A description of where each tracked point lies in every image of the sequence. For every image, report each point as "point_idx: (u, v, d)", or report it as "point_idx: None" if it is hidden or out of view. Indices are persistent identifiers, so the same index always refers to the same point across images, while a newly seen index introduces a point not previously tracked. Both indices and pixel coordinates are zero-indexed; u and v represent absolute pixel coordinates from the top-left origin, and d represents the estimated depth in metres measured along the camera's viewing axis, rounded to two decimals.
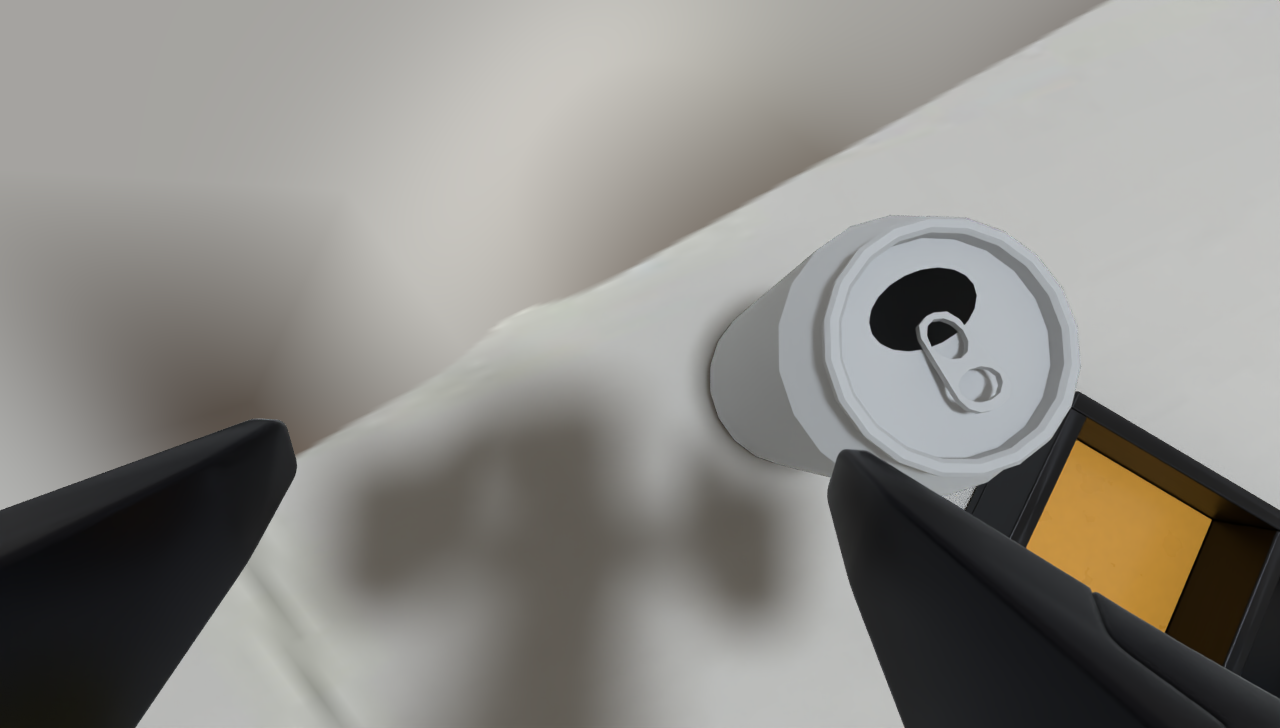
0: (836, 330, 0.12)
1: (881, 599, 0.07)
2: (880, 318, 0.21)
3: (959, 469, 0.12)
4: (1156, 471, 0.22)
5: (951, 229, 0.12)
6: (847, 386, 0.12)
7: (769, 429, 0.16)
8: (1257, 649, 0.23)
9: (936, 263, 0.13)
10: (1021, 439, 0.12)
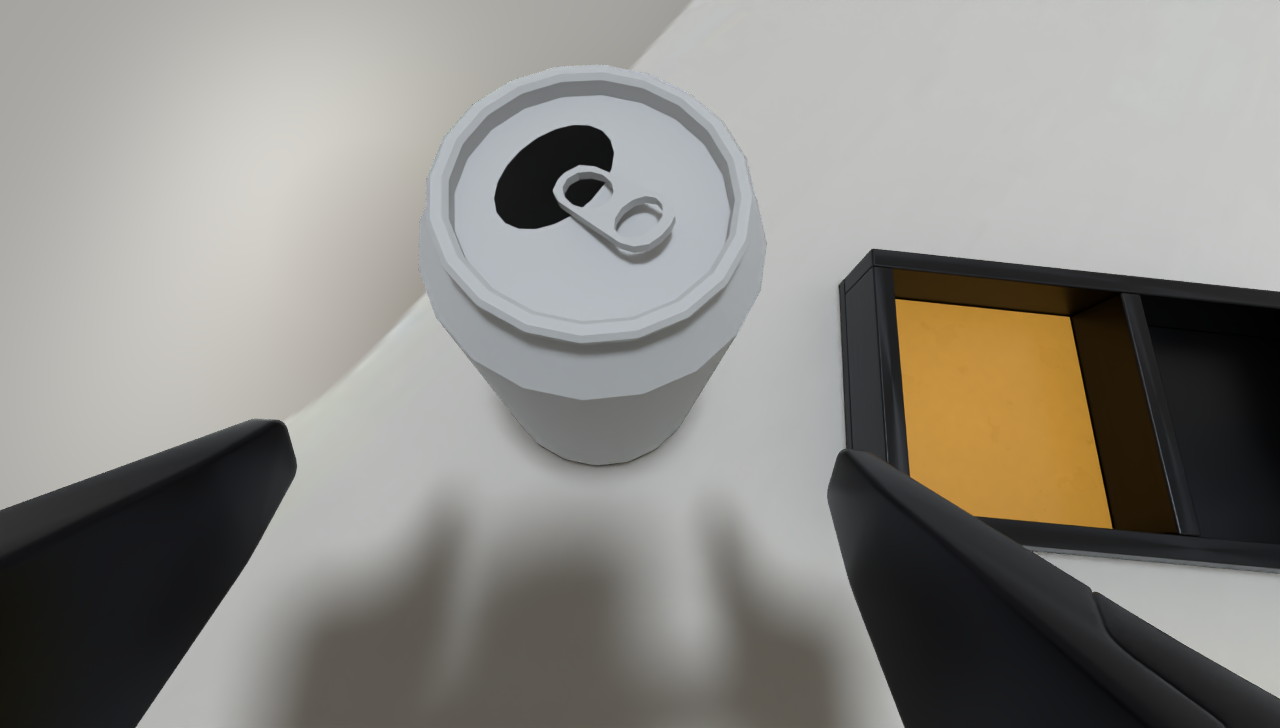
0: (443, 228, 0.09)
1: (881, 599, 0.07)
2: None
3: (656, 319, 0.09)
4: (989, 292, 0.21)
5: (541, 81, 0.10)
6: (477, 283, 0.09)
7: (520, 409, 0.13)
8: (1186, 419, 0.21)
9: (552, 126, 0.11)
10: (719, 258, 0.10)
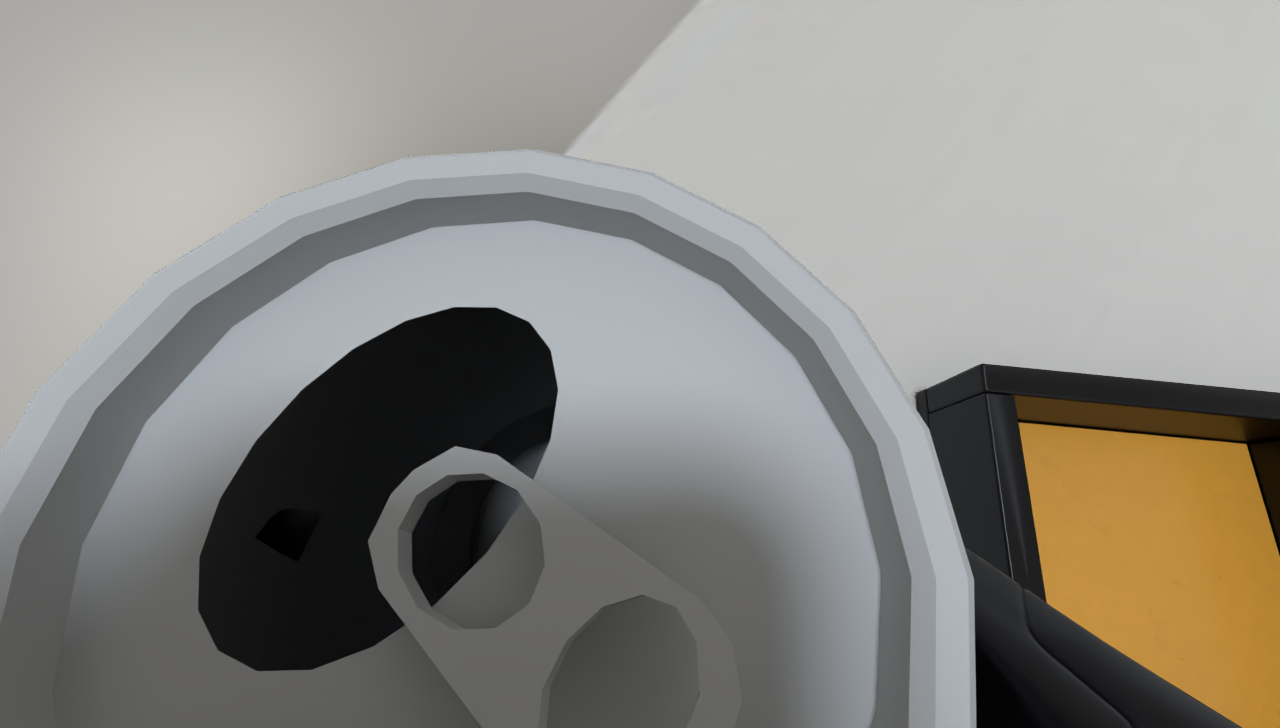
0: None
1: None
2: None
3: None
4: (1145, 420, 0.14)
5: (358, 203, 0.04)
6: None
7: None
8: None
9: (395, 313, 0.04)
10: None
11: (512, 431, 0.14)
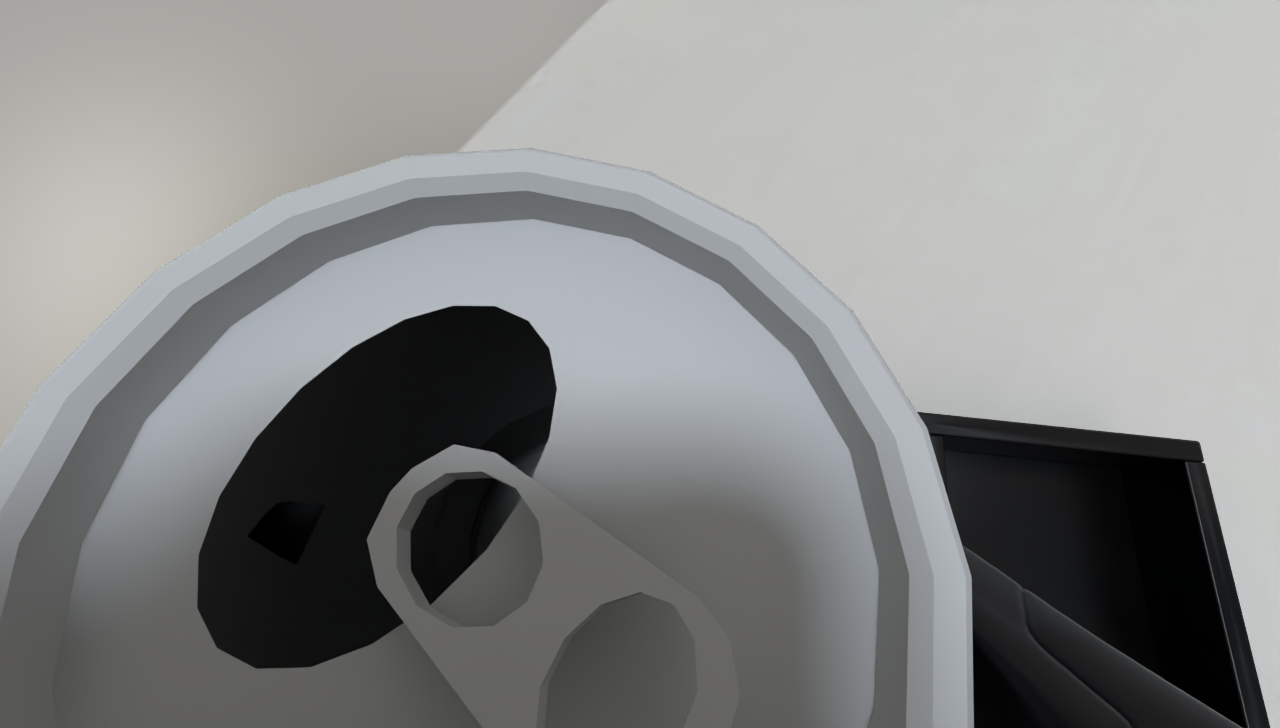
0: None
1: None
2: None
3: None
4: None
5: (357, 201, 0.04)
6: None
7: None
8: (1001, 561, 0.20)
9: (396, 310, 0.04)
10: None
11: (511, 431, 0.14)
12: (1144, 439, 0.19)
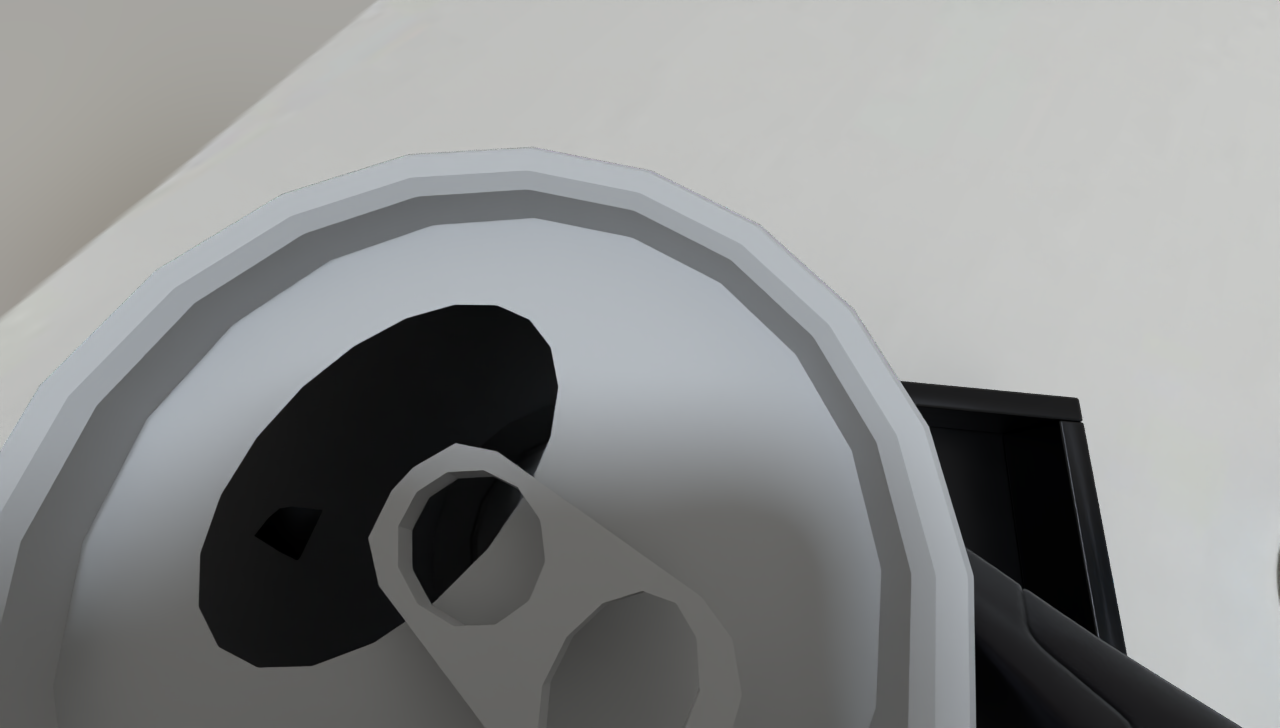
0: None
1: None
2: None
3: None
4: None
5: (358, 200, 0.04)
6: None
7: None
8: None
9: (395, 310, 0.04)
10: None
11: (512, 431, 0.14)
12: (1013, 396, 0.16)
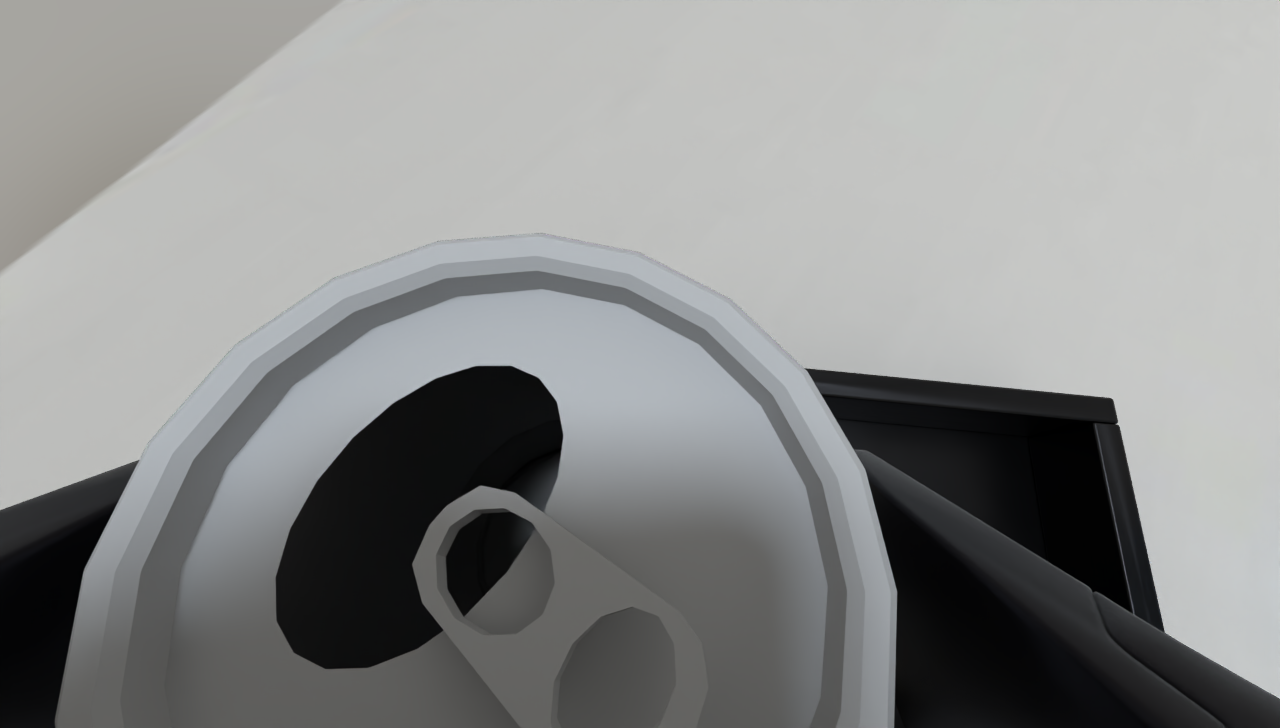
0: None
1: None
2: None
3: None
4: None
5: (398, 284, 0.05)
6: None
7: None
8: None
9: (428, 371, 0.05)
10: None
11: (515, 444, 0.15)
12: (1043, 396, 0.15)
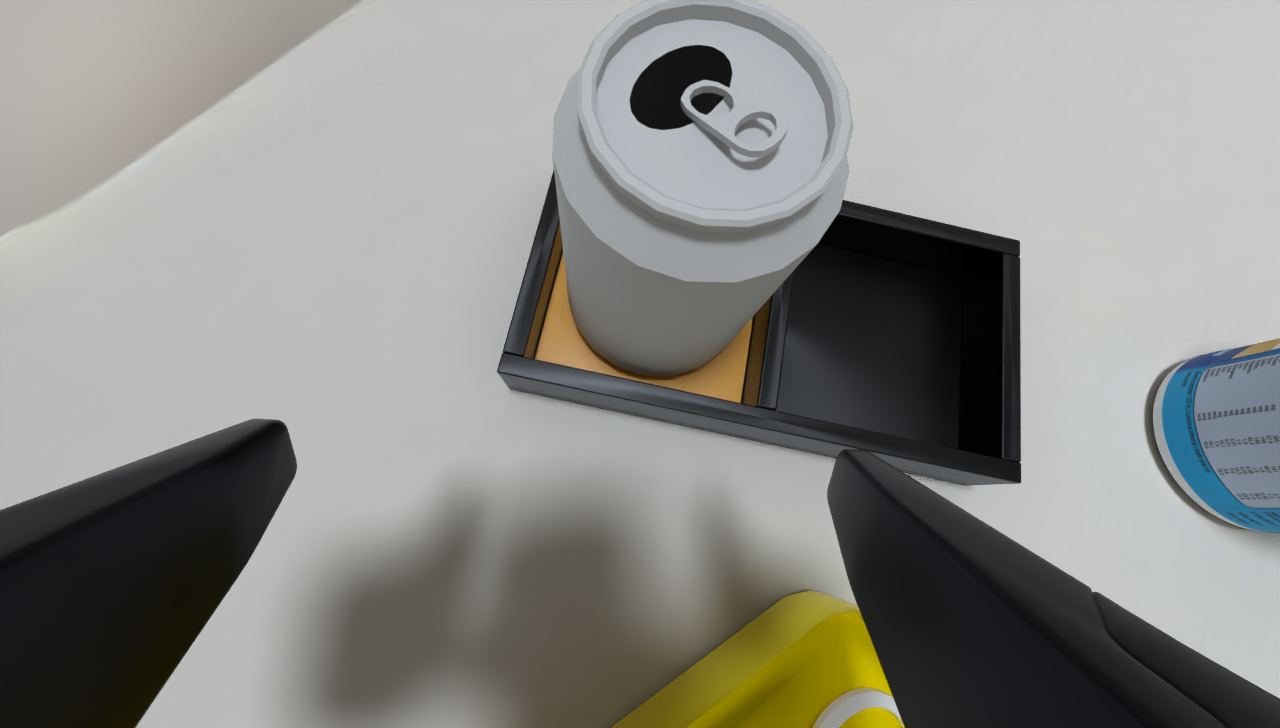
0: (592, 118, 0.11)
1: (881, 599, 0.07)
2: None
3: (764, 213, 0.11)
4: None
5: (678, 1, 0.12)
6: (620, 165, 0.11)
7: (609, 299, 0.15)
8: (844, 331, 0.23)
9: (680, 43, 0.12)
10: (817, 171, 0.11)
11: None
12: (973, 232, 0.22)
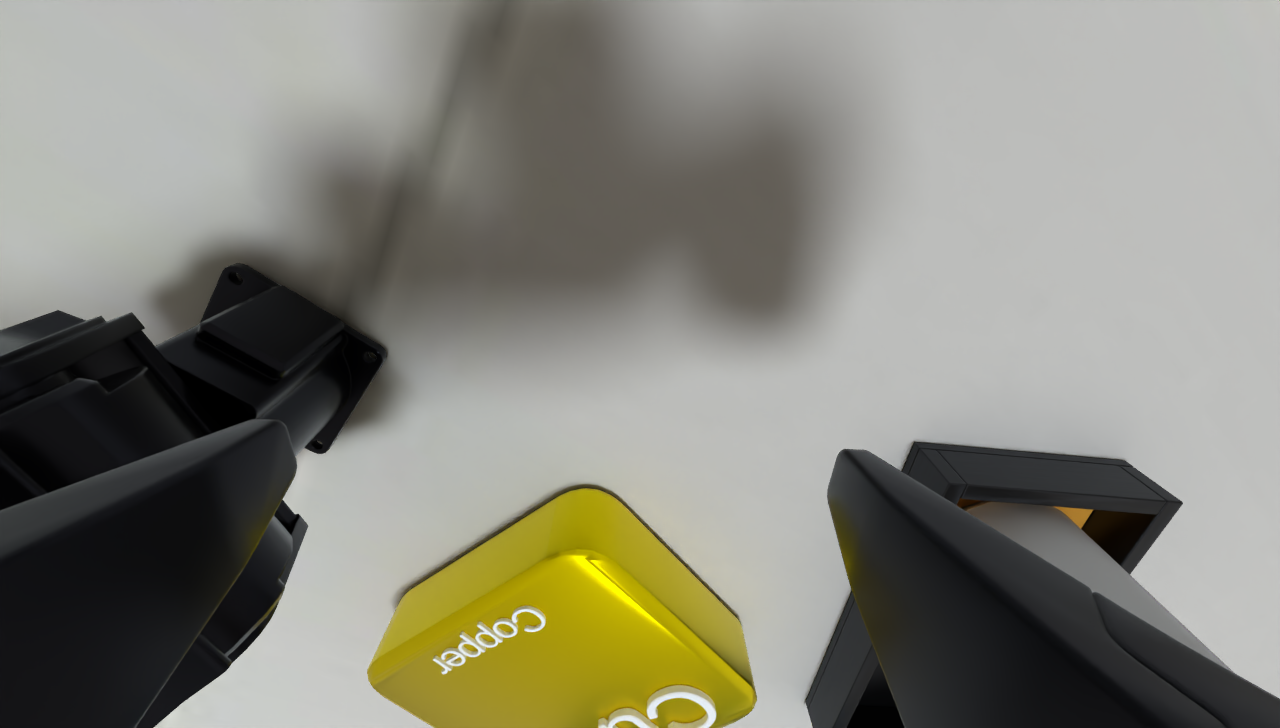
0: None
1: (881, 599, 0.07)
2: None
3: None
4: None
5: None
6: None
7: None
8: None
9: None
10: None
11: None
12: None
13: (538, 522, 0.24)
